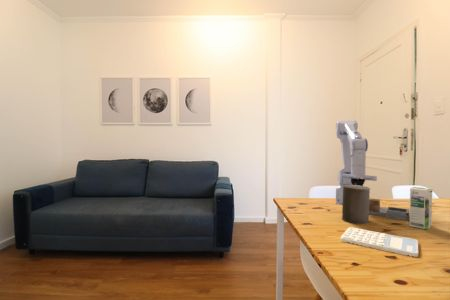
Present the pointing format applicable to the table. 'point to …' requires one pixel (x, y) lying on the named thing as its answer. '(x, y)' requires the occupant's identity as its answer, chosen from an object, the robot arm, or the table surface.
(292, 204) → the table surface
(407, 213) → the rail
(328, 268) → the table surface
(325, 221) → the table surface
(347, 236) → the calculator
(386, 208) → the rubber pad
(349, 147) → the robot arm
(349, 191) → the pillar candle
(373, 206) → the walnut block
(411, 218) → the syrup box
